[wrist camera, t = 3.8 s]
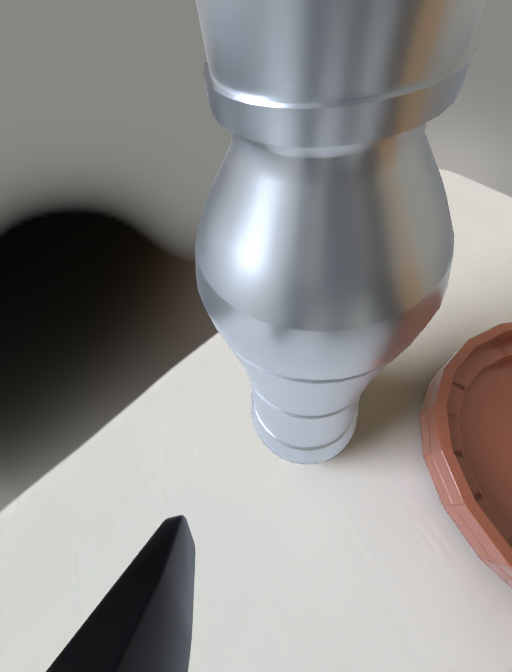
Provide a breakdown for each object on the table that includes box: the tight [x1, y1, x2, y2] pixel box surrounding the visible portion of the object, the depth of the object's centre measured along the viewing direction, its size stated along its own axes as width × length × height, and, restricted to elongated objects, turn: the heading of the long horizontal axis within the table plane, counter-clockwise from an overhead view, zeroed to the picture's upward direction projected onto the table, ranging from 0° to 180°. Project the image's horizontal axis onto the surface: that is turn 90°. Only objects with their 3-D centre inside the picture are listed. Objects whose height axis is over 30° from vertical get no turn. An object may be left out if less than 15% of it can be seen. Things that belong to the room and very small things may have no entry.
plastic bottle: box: [195, 0, 486, 464], centre depth 11 cm, size 6×7×20 cm
